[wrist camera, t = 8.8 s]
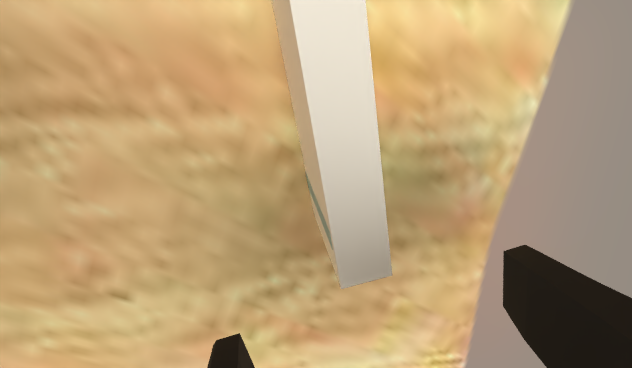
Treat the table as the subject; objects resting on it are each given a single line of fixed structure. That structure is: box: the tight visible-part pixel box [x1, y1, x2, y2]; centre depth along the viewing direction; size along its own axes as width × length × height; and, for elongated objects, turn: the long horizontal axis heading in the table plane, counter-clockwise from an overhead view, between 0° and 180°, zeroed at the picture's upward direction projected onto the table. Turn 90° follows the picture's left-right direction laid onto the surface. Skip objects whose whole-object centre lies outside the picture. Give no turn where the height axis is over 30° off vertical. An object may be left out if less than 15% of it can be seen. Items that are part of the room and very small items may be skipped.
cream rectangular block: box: [272, 0, 392, 289], centre depth 15 cm, size 16×2×6 cm, turn 10°
